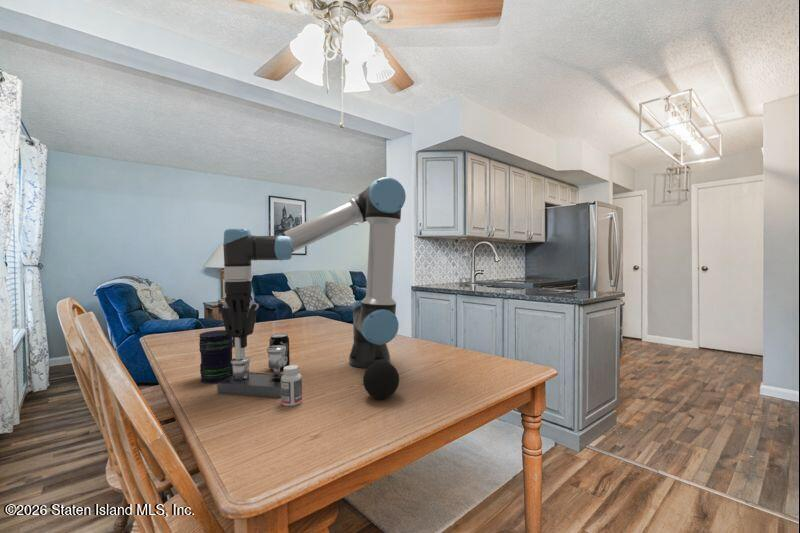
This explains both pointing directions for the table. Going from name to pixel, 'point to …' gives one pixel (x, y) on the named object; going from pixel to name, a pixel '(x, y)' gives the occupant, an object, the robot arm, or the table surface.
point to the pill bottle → (291, 386)
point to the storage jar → (215, 356)
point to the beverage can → (281, 340)
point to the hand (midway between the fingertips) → (240, 358)
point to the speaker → (381, 379)
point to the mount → (252, 385)
